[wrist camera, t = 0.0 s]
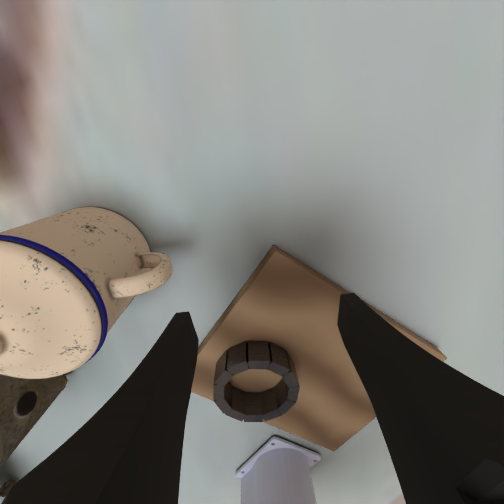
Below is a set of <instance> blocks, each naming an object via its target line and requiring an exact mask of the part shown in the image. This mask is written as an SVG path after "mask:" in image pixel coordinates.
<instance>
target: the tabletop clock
mask: <svg viewBox="0 0 504 504" xmlns="http://www.w3.org/2000/svg"><path fill="white" fill-rule="evenodd" d="M14 484H16V482H15V481H14V480H9V481H7V482H5V483H4V484H3V485H2V486H1V488H0V496H2V497H5V496H6V495H7V493H8V492H9V490H10V489H11V487H12V486H13V485H14Z"/></svg>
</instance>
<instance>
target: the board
mask: <svg viewBox="0 0 504 504" xmlns="http://www.w3.org/2000/svg"><path fill="white" fill-rule="evenodd" d="M348 293H349V292H348V291H346V290H344V289H343V288H341V287H340V286H338V285H336V284H335V283H333V282H332V281H330V280H329V279H327V278H325V277H324V276H322V275H321V274H319V273H317V272H316V271H314V270H313V269H311V268H309V267H308V266H306V265H305V264H303V263H302V262H300V261H298V260H297V259H295V258H294V257H292V256H290V255H289V254H287V253H286V252H284V251H282V250H281V249H279V248H278V247H276V246H274V245H273V246H272V248H271V249H270V251H269V252H268V253H267V255H266V256H265V257H264V259H263V260H262V261H261V263H260V264H259V266H258V267H257V268H256V270H255V271H254V272H253V274H252V275H251V276H250V278H249V279H248V280H247V282H246V283H245V285H244V286H243V287H242V289H241V290H240V291H239V293H238V294H237V295H236V297H235V298H234V300H233V301H232V302H231V304H230V305H229V306H228V308H227V309H226V310H225V312H224V313H223V314H222V316H221V317H220V319H219V320H218V321H217V323H216V324H215V325H214V327H213V328H212V329H211V331H210V332H209V334H208V335H207V336H206V338H205V339H204V340H203V342H202V343H201V344H200V346H199V347H198V354H197V363H196V369H195V374H194V379H193V384H192V389H191V392H193V393H196V394H198V395H200V396H203V397H205V398H208V399H210V400H212V401H214V400H213V384H214V377H215V369H216V363H217V361H218V360H219V358H220V357H221V356H222V355H223V353H224V352H225V351H226V350H228V348H229V347H232V346H234V345H237V344H239V343H241V342H244V341H246V342H247V343H248V340H256V341H268V343H269V342H272V343H274V344H276V345H278V346H280V347H282V348H284V349H286V351H287V352H288V353H289V355H290V357H291V359H292V360H293V362H294V364H295V369H296V373H297V377H298V381H299V386H300V388H299V394H298V399H297V401H296V403H295V404H294V405H293V406H292V407H291V408H290V409H289V410H288V411H287V412H286V413H285V414H283V413H282V414H283V415H282V416H279V417H277V418H274V419H271V420H268V421H266V422H265V421H264V419H263V422H265V423H267V424H270V425H272V426H275V427H277V428H279V429H282V430H284V431H287V432H289V433H291V434H294V435H296V436H298V437H301V438H303V439H306V440H308V441H310V442H313V443H315V444H318V445H320V446H322V447H325V448H327V449H330V450H332V451H335V450H336V449H338V448H339V447H340V446H341V445H343V444H344V443H345V442H346V441H347V440H349V439H350V438H351V437H352V436H353V435H355V434H356V433H357V432H358V431H359V430H361V429H362V428H363V427H364V426H366V425H367V424H368V423H369V422H370V421H372V420H373V419H374V418H375V417H376V414H375V411H374V409H373V406H372V403H371V401H370V399H369V397H368V394H367V392H366V390H365V388H364V386H363V384H362V382H361V379H360V377H359V375H358V373H357V371H356V369H355V367H354V365H353V363H352V361H351V359H350V357H349V354H348V352H347V350H346V348H345V346H344V343H343V341H342V338H341V335H340V332H339V329H338V326H337V321H338V312H339V303H340V294H348ZM366 304H367V303H366ZM367 305H368V304H367ZM368 306H369V307H370V308H372V309H373V310H374V311H375V312H376V313H377V314H379V315H380V316H381V317H382V318H383V319H385V320H386V321H387V322H388V323H389V324H391V325H392V326H393V327H394V328H396V329H397V330H398V331H399V332H401V333H402V334H403V335H405V336H406V337H407V338H409V339H410V340H411V341H413V342H414V343H416V344H417V345H418V346H420V347H421V348H423V349H424V350H426V351H427V352H429V353H430V354H432V355H433V356H435V357H436V358H438V359H439V360H441V361H442V362H443V361H444V360H446V359H447V357H446V356H445V355H444V354H443V353H442V352H441V351H440V350H439V349H438V348H437V347H435V346H433V345H432V344H430V343H429V342H427V341H426V340H424V339H422V338H421V337H419V336H418V335H416V334H414V333H413V332H411V331H410V330H408V329H406V328H405V327H403V326H402V325H400V324H399V323H397V322H395V321H394V320H392V319H391V318H389V317H387V316H386V315H384V314H383V313H381V312H379V311H378V310H376V309H375V308H373V307H371V306H370V305H368ZM282 378H283V377H282V376H280V375H278V374H276V373H274V372H272V371H270V370H265V369H249V370H246V371H244V372H241V373H239V374H236V375H234V376H233V377H232V378H231V379H230V380H229V381H230V383H231V384H232V385H233V386H234V387H236V388H238V389H240V390H243V391H245V392H262V391H265V390H268V389H270V388H273V387H275V386H276V385H277V383H278V382H279V381H280V380H281V379H282Z"/></svg>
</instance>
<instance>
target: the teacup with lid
mask: <svg viewBox="0 0 504 504" xmlns="http://www.w3.org/2000/svg"><path fill="white" fill-rule="evenodd" d="M151 268H154V269H152V270H151ZM171 274H172V264H171V261H170V259H169V257H168V256H166V255H165V254H162V253H157V252H150V249H149V246H148V244H147V242H146V240H145V238H144V236H143V235H142V234H141V232H140V231H139V230H138V229H137V228H136V227H135V226H134V225H133V224H132V223H131V222H130V221H128V220H127V219H125V218H124V217H122V216H120V215H119V214H116V213H114V212H112V211H109V210H106V209H102V208H96V207H82V208H76V209H73V210H70V211H67V212H63V213H60V214H57V215H54V216H51V217H48V218H45V219H42V220H39V221H35V222H32V223H29V224H26V225H23V226H20V227H17V228H14V229H10V230H7V231H4V232H1V233H0V374H2V375H6V376H11V377H17V378H26V379H42V378H50V377H55V376H59V375H63V374H65V373H68V372H70V371H73V370H75V369H77V368H78V367H80V366H82V365H83V364H84V363H86V362H87V361H89V360H90V359H91V358H92V357H93V356H95V355H96V353H97V352H98V351H99V350H100V348H101V347H102V345H103V343H104V341H105V338H106V335H107V332H108V331H109V330H110V329H111V327H112V326H113V325H114V323H115V322H116V321H117V319H118V318H119V317H120V316H121V314H122V313H123V312H124V310H125V309H126V308H127V306H128V305H129V304H130V302H131V301H132V300H133V299H134V297H135V296H136V295H139V294H143V293H146V292H149V291H151V290H154V289H156V288H158V287H160V286H161V285H163V284H164V283H165V282H166V281H167V280H168V279H169V278H170V276H171Z"/></svg>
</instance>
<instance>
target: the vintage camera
mask: <svg viewBox="0 0 504 504" xmlns="http://www.w3.org/2000/svg"><path fill="white" fill-rule="evenodd" d="M67 381H68V380H67V378H66V376H65V374H63V375H59V376H55V377H50V378H42V379H26V378H17V377H11V376H6V375H2V374H0V468H1V466H2V465H3V464H4V463H5V461H6V460H7V459H8V457H9V456H10V455H11V454H12V452H13V451H14V450H15V449H16V447H17V446H18V445H19V443H20V442H21V441H22V440H23V439H24V437H25V436H26V435H27V434H28V432H29V431H30V430H31V429H32V427H33V426H34V425H35V424H36V422H37V421H38V420H39V419H40V417H41V416H42V415H43V414H44V412H45V411H46V410H47V409H48V407H49V406H50V405H51V404H52V402H53V401H54V400H55V399H56V397H57V396H58V395H59V394H60V392H61V391H62V390H63V389H64V388H65V387H66V384H67Z"/></svg>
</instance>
